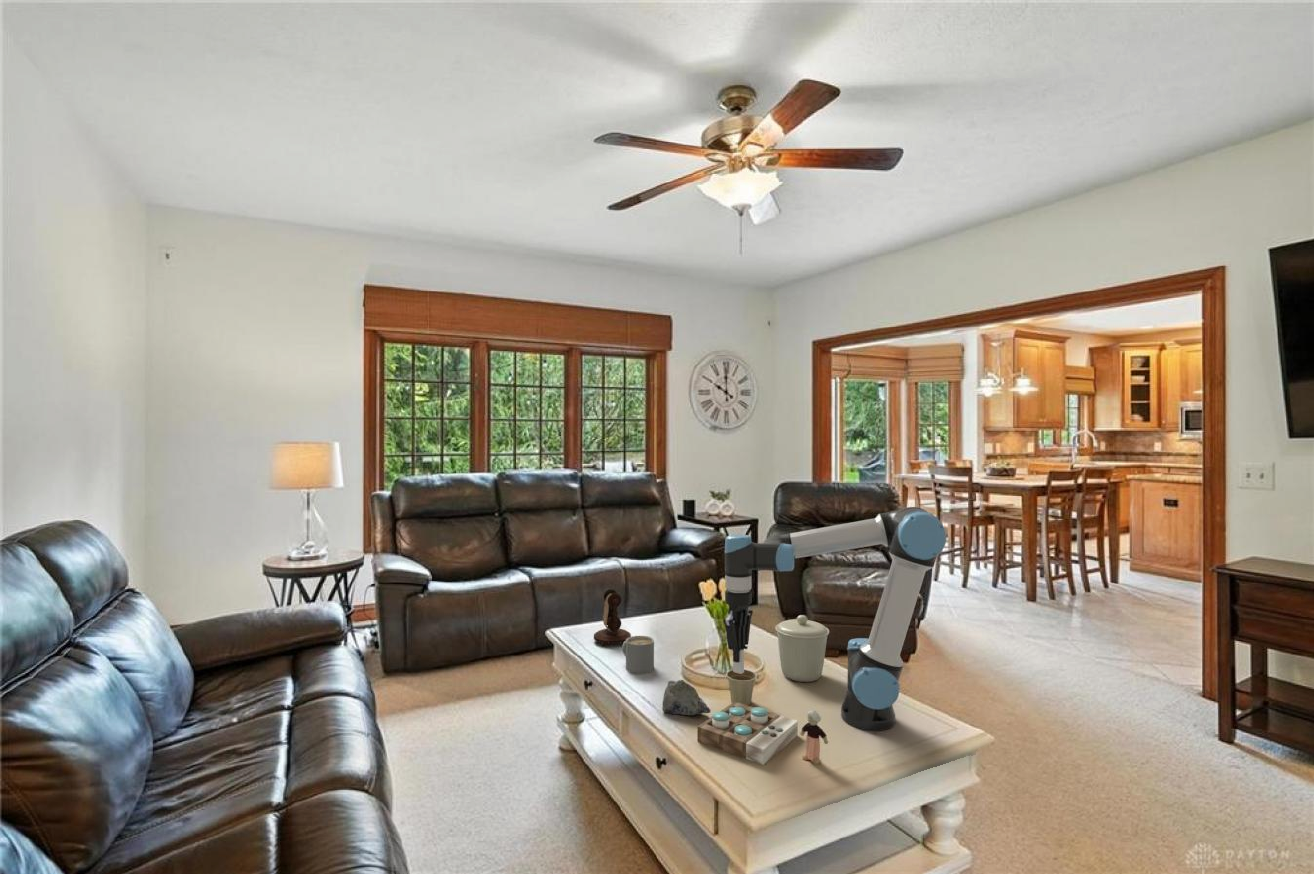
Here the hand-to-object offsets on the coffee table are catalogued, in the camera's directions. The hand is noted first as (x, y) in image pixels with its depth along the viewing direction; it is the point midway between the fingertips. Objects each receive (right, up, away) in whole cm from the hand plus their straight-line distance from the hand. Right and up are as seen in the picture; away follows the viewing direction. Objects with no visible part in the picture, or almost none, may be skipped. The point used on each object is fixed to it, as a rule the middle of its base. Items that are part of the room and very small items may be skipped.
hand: (738, 672), depth 182 cm
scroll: (-41, -15, +72) cm, 84 cm away
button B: (0, -15, -11) cm, 19 cm away
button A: (+5, -13, -4) cm, 15 cm away
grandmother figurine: (+17, -16, -18) cm, 30 cm away
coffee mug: (-30, -15, +45) cm, 56 cm away
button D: (-6, -13, -7) cm, 16 cm away
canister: (+26, -15, +37) cm, 48 cm away
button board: (+2, -16, -7) cm, 17 cm away
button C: (0, -15, 0) cm, 15 cm away
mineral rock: (-15, -16, +7) cm, 23 cm away
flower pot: (+3, -16, +16) cm, 22 cm away
